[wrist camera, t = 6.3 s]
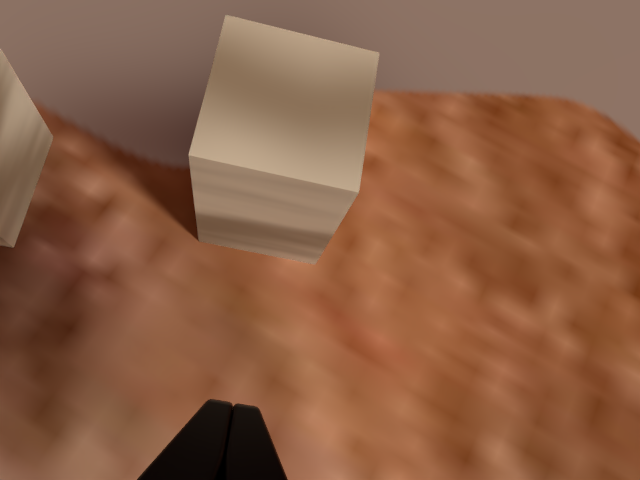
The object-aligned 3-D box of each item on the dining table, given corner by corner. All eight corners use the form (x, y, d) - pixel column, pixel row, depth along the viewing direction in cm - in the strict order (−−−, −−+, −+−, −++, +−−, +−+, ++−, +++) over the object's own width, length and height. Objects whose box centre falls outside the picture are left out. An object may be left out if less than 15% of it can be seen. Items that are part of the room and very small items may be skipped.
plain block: (315, 264, 24) (358, 192, 16) (198, 241, 23) (188, 155, 16) (332, 161, 25) (379, 52, 18) (224, 137, 25) (225, 14, 17)
